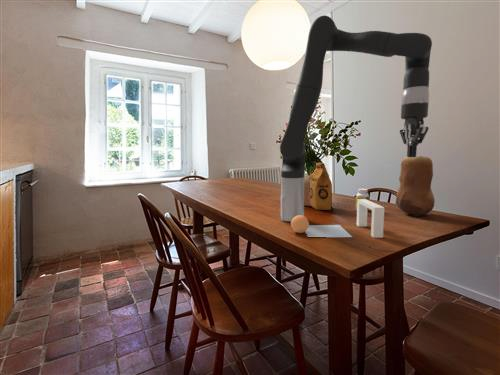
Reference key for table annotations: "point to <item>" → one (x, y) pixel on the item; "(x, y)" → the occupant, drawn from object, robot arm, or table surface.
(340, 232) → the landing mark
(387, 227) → the table surface
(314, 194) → the coffee package
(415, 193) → the butternut squash
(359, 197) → the supplement bottle
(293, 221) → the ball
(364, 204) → the bridge
